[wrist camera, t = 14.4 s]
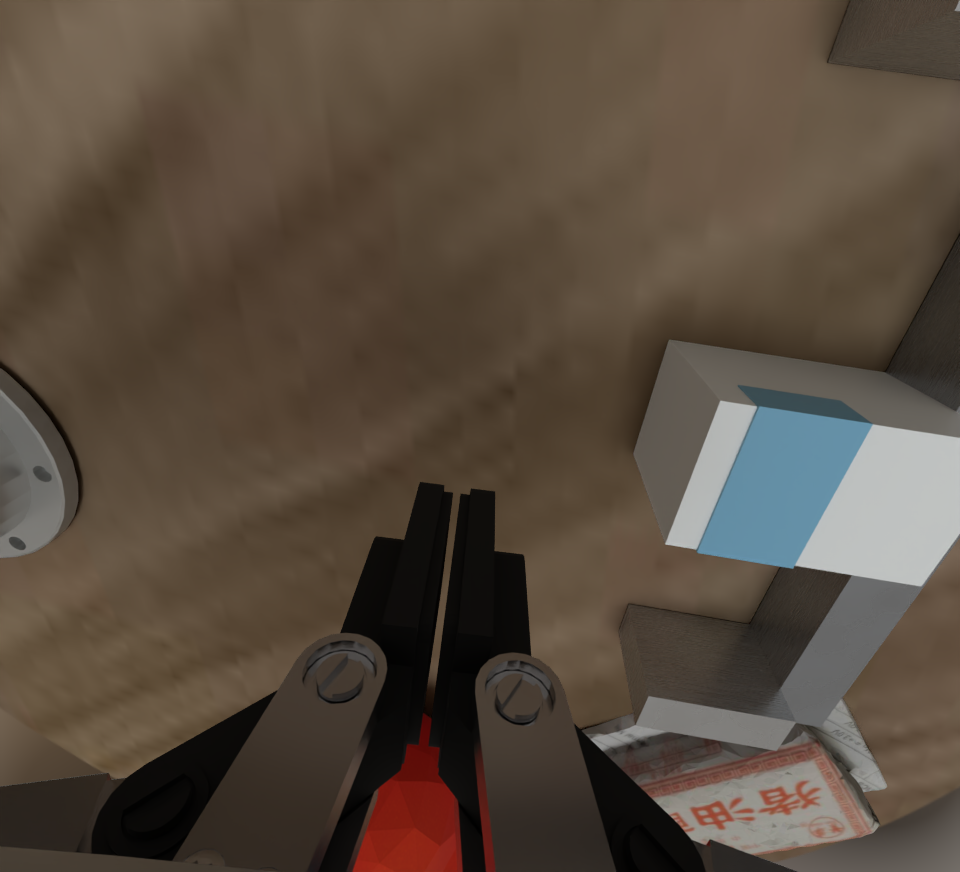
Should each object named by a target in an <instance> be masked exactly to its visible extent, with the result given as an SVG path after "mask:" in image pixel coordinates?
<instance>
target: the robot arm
mask: <svg viewBox="0 0 960 872" xmlns="http://www.w3.org/2000/svg"><path fill="white" fill-rule="evenodd" d="M452 497H453V493H451V492H444V485H440V484H432V483H424V482H420V484H419V487H418V491H417V495H416V498H415V502H414V506H413V509H412V513H411V517H410V521H409V524H408V528H407V532H406V535H405V539H404V540H401V539H393V538H385V537H377V536H376V537H375V538H374V541H373V543H372V546H371V549H370V551H369V554H368V557H367V560H366V563H365V565H364V568H363V571H362V574H361V577H360V579H359V582H358V585H357V588H356V591H355V593H354V596H353V599H352V602H351V605H350V607H349V610H348V613H347V616H346V619H345V621H344V624H343V627H342V630H341V633H340V634H332V635H329V636H327V637H324V638H322V639H319V640H317V641H316V642H314V643H313V644H311V645H310V646H309V647H307V648H306V649H305V650H304V651H303V653H302V654H301V655H300V656H299V657H298V659H297V660H296V662H295V663H294V665H293V667H292V668H291V670H290V671H289V673H288V675H287V676H286V678H285V679H284V681H283V683H282V684H281V686H280V688H279V689H278V690H277V691H275V692H273V693H272V694H270V695H268V696H266V697H265V698H263V699H261V700H259V701H257V702H256V703H254V704H252V705H250V706H249V707H247V708H245V709H243V710H242V711H240V712H238V713H236V714H234V715H233V716H231V717H229V718H227V719H226V720H224V721H222V722H220V723H218V724H217V725H215V726H213V727H211V728H210V729H208V730H206V731H204V732H202V733H201V734H199V735H197V736H195V737H194V738H192V739H190V740H188V741H186V742H185V743H183V744H181V745H179V746H178V747H176V748H174V749H172V750H170V751H169V752H167V753H165V754H163V755H162V756H160V757H158V758H156V759H154V760H153V761H151V762H149V763H147V764H146V765H144V766H143V767H141V768H140V769H138V770H137V771H136V772H134V773H133V774H131V775H130V776H128V777H127V778H121V779H113V780H111V778H110V775H109V773H103V774H95V775H87V776H79V777H71V778H63V779H56V780H48V781H41V782H32V783H24V784H17V785H9V786H0V872H352V871H353V868H354V866H355V863H356V860H357V857H358V854H359V851H360V848H361V845H362V842H363V839H364V836H365V833H366V830H367V827H368V825H369V822H370V819H371V816H372V813H373V810H374V807H375V804H376V801H377V798H378V793H379V787H381V786H382V785H383V784H384V783H386V782H387V781H388V780H389V779H391V778H392V777H393V776H394V775H396V774H397V773H398V772H399V771H401V767H402V764H404V761H405V755H406V749H407V744H412V745H419V740H420V733H421V726H422V719H423V712H424V705H425V698H426V691H427V684H428V677H429V671H430V664H431V657H432V650H433V643H434V636H435V629H436V622H437V615H438V608H439V601H440V594H441V587H442V579H443V571H444V562H445V554H446V546H447V538H448V530H449V522H450V513H451V505H452ZM77 504H78V480H77V476H76V472H75V468H74V464H73V460H72V458H71V456H70V453H69V451H68V449H67V447H66V445H65V442H64V440H63V438H62V437H61V435H60V433H59V432H58V430H57V429H56V427H55V426H54V424H53V423H52V421H51V419H50V418H49V416H48V415H47V414H46V413H45V412H44V410H43V409H42V408H41V407H40V406H39V404H38V403H37V402H36V401H35V400H34V399H33V397H32V396H31V395H30V394H29V393H28V392H27V391H26V390H25V389H24V388H23V387H22V386H21V385H20V384H18V383H17V382H16V381H15V380H14V379H13V378H12V377H11V376H10V375H9V374H8V373H7V372H5V371H4V370H2V369H1V368H0V558H9V557H20V556H23V555H27V554H30V553H34V552H36V551H37V550H39V549H41V548H42V547H44V546H46V545H47V544H49V543H50V542H51V541H52V540H54V539H55V538H56V537H58V536H59V535H60V534H61V533H62V532H64V531H65V530H66V529H67V527H68V526H69V524H70V523H71V521H72V519H73V518H74V516H75V512H76V508H77ZM494 545H495V491H487V490H479V489H471V492H470V495H467V494H461V496H460V503H459V511H458V518H457V526H456V534H455V541H454V549H453V557H452V564H451V572H450V580H449V587H448V595H447V603H446V611H445V618H444V626H443V634H442V642H441V650H440V658H439V665H438V673H437V681H436V689H435V697H434V705H433V713H432V720H431V728H430V736H429V744H428V746H429V747H438V748H439V758H438V767H437V768H439V770H438V775H439V776H440V778H441V779H442V780H443V782H444V783H445V784H446V786H447V787H448V788H449V790H450V791H451V792H452V793H453V795H454V796H455V798H454V820H455V837H456V854H457V871H458V872H797V871H794V870H792V869H789V868H786V867H784V866H781V865H778V864H776V863H773V862H770V861H768V860H765V859H762V858H760V857H757V856H754V855H752V854H749V853H746V852H744V851H741V850H738V849H735V848H733V847H730V846H727V845H725V844H722V843H719V842H717V841H714V840H711V839H709V841H708V843H707V844H706V845H705V844H702V843H699V842H697V841H694V840H691V838H690V837H689V836H688V835H687V834H686V832H685V831H684V830H683V829H682V828H681V827H680V825H679V824H678V823H677V822H676V821H675V820H674V819H673V818H672V817H671V816H670V815H669V814H668V813H667V812H666V811H664V810H663V809H662V808H661V807H660V806H659V805H658V804H657V803H656V802H655V801H654V800H653V799H652V798H651V797H650V796H649V795H648V794H647V793H646V792H645V791H644V790H643V789H642V788H641V787H640V786H638V785H637V784H636V783H635V782H634V781H633V780H632V779H631V778H630V777H629V776H628V775H627V774H626V773H625V772H624V771H623V770H622V769H621V768H620V767H619V766H618V765H617V764H616V763H615V762H614V761H612V760H611V759H610V758H609V757H608V756H607V755H606V754H605V753H604V752H603V751H602V750H601V749H600V748H599V747H598V746H597V745H596V744H595V743H594V742H593V741H592V740H591V739H590V738H589V737H588V736H586V735H585V734H584V733H583V732H582V731H581V730H580V729H579V728H578V727H577V726H576V725H575V724H574V723H573V719H572V716H571V712H570V709H569V705H568V702H567V698H566V695H565V691H564V689H563V687H562V684H561V682H560V680H559V678H558V677H557V675H556V674H555V673H554V672H553V671H552V669H551V668H550V667H549V666H547V665H546V664H544V663H543V662H542V661H540V660H539V659H537V658H534V657H532V656H531V646H530V632H529V617H528V602H527V588H526V573H525V560H524V556H523V555H522V554H514V553H506V552H498V551H494Z"/></svg>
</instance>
